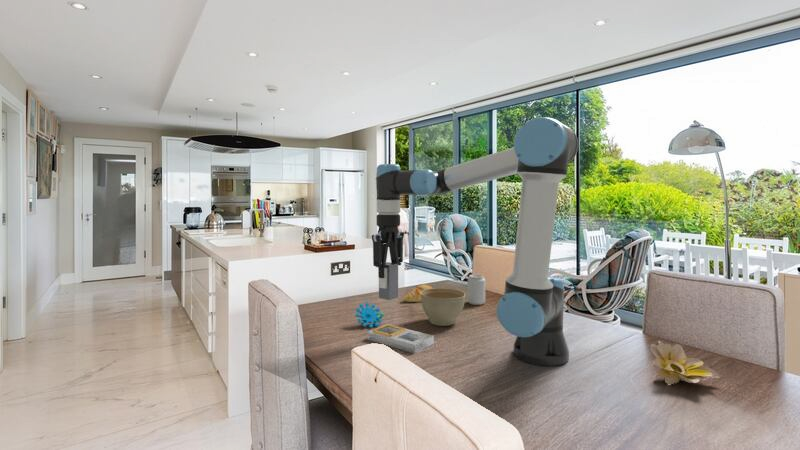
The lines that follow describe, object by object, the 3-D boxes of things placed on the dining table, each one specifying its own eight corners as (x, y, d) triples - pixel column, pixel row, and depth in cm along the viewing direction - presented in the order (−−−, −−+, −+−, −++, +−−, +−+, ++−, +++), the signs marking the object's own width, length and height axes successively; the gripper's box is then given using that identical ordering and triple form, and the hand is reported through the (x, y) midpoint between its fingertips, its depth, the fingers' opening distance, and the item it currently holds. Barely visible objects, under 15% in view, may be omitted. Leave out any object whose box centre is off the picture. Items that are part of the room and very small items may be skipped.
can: (486, 305, 172) (487, 277, 171) (468, 305, 172) (469, 277, 171) (483, 301, 179) (483, 273, 178) (466, 301, 179) (466, 273, 179)
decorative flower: (687, 393, 92) (680, 346, 94) (641, 384, 102) (635, 342, 104) (728, 385, 98) (721, 342, 100) (681, 378, 108) (675, 338, 110)
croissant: (407, 312, 175) (412, 298, 171) (394, 297, 181) (399, 283, 178) (443, 303, 188) (449, 289, 184) (430, 289, 194) (435, 276, 191)
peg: (398, 297, 132) (398, 263, 132) (389, 300, 129) (389, 265, 128) (387, 295, 135) (387, 262, 134) (378, 297, 132) (378, 263, 131)
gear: (358, 326, 140) (354, 300, 147) (353, 334, 144) (350, 309, 151) (388, 326, 145) (383, 301, 151) (382, 334, 149) (378, 310, 155)
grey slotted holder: (433, 343, 128) (433, 334, 128) (414, 353, 120) (414, 343, 120) (387, 331, 140) (387, 322, 140) (367, 339, 132) (367, 330, 132)
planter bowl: (444, 332, 138) (444, 300, 137) (411, 321, 150) (411, 292, 150) (474, 322, 149) (474, 293, 148) (441, 313, 161) (441, 285, 160)
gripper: (396, 212, 139) (396, 280, 141) (360, 214, 126) (361, 289, 127) (414, 213, 134) (414, 283, 136) (378, 215, 121) (379, 293, 123)
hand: (388, 286), depth 132 cm, fingers closed on peg, 4 cm apart
